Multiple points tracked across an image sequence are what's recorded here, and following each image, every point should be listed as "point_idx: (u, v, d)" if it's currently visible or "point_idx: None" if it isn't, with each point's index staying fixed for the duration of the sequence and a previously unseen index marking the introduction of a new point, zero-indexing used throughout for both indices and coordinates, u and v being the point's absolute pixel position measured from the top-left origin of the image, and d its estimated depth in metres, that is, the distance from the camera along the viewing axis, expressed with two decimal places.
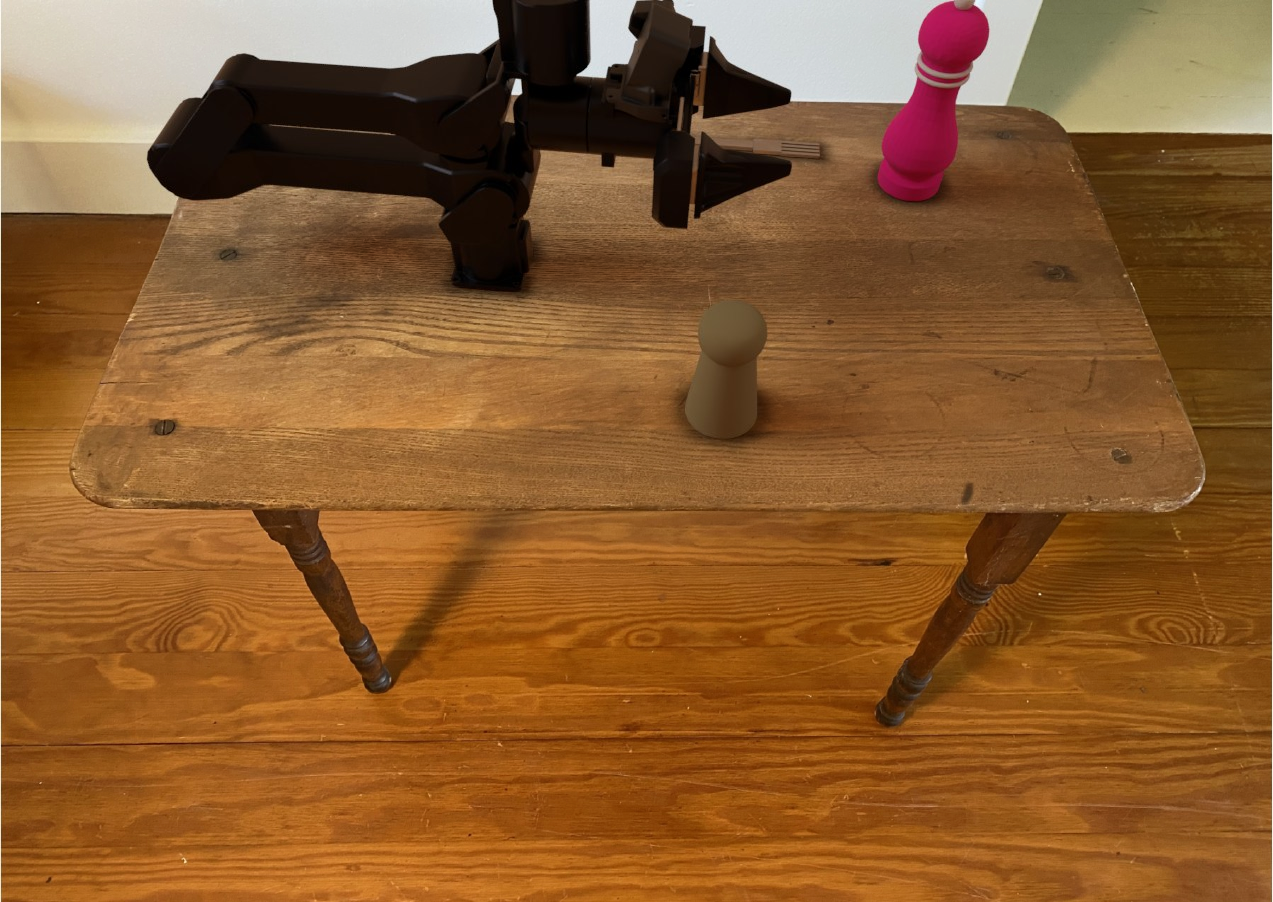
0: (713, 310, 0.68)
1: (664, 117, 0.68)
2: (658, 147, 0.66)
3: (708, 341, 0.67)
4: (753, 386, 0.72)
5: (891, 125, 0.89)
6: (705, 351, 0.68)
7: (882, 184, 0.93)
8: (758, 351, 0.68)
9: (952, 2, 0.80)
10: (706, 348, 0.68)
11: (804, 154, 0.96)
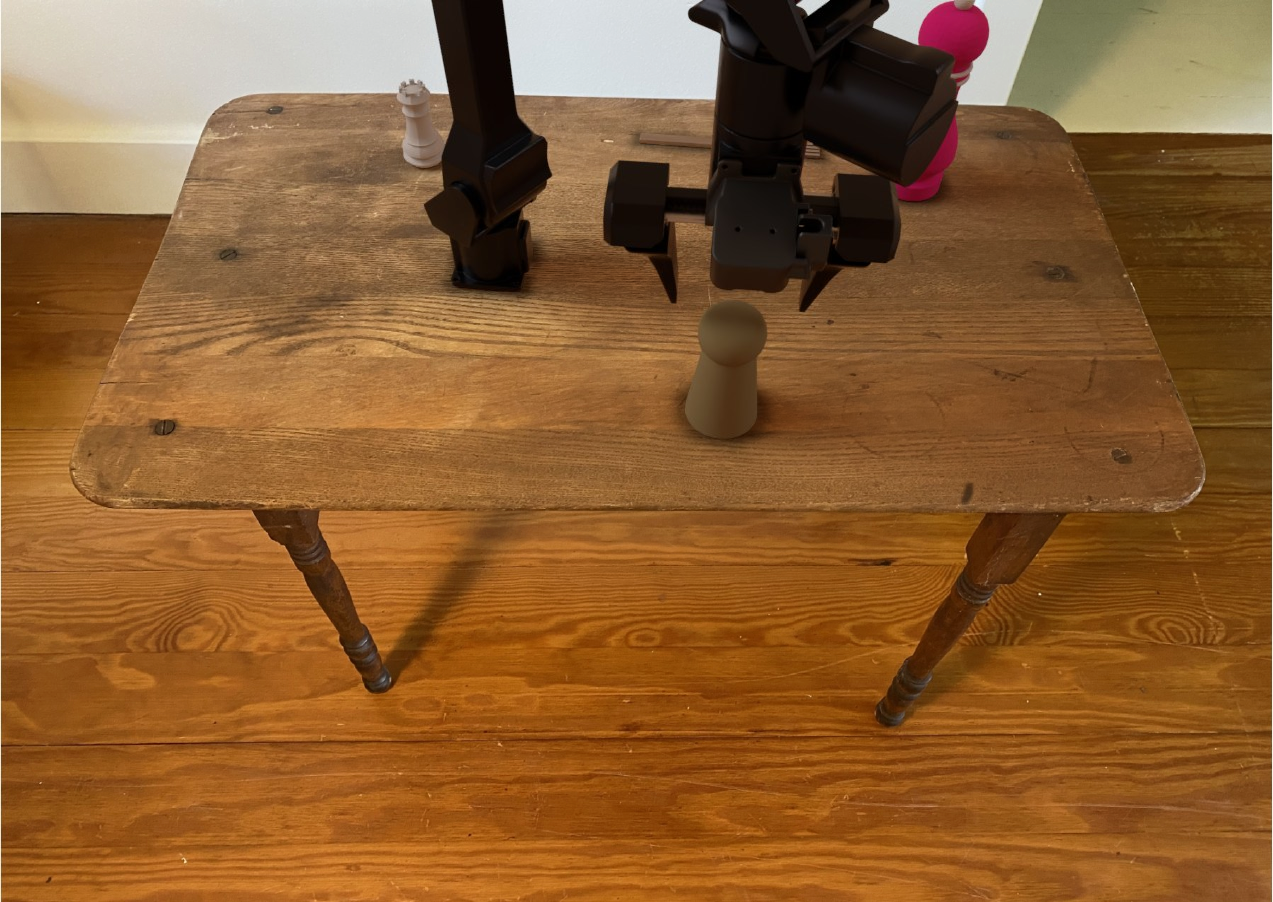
0: (713, 310, 0.68)
1: (706, 213, 0.57)
2: (647, 208, 0.57)
3: (708, 341, 0.67)
4: (753, 386, 0.72)
5: None
6: (705, 351, 0.68)
7: None
8: (758, 351, 0.68)
9: (952, 2, 0.80)
10: (706, 348, 0.68)
11: None
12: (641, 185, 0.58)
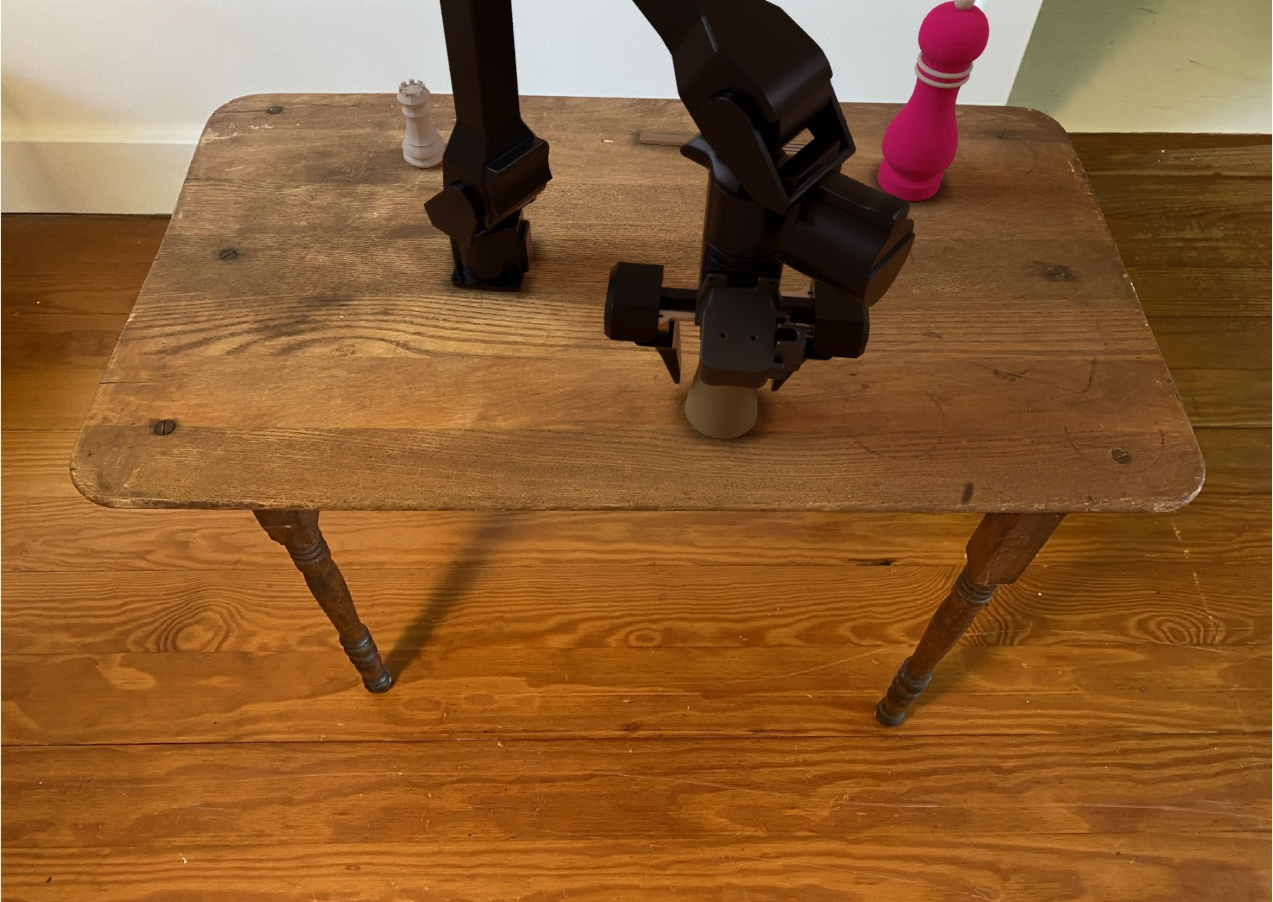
0: None
1: None
2: (643, 309, 0.64)
3: None
4: None
5: (891, 125, 0.89)
6: None
7: (882, 184, 0.93)
8: None
9: (952, 2, 0.80)
10: None
11: None
12: (638, 286, 0.65)
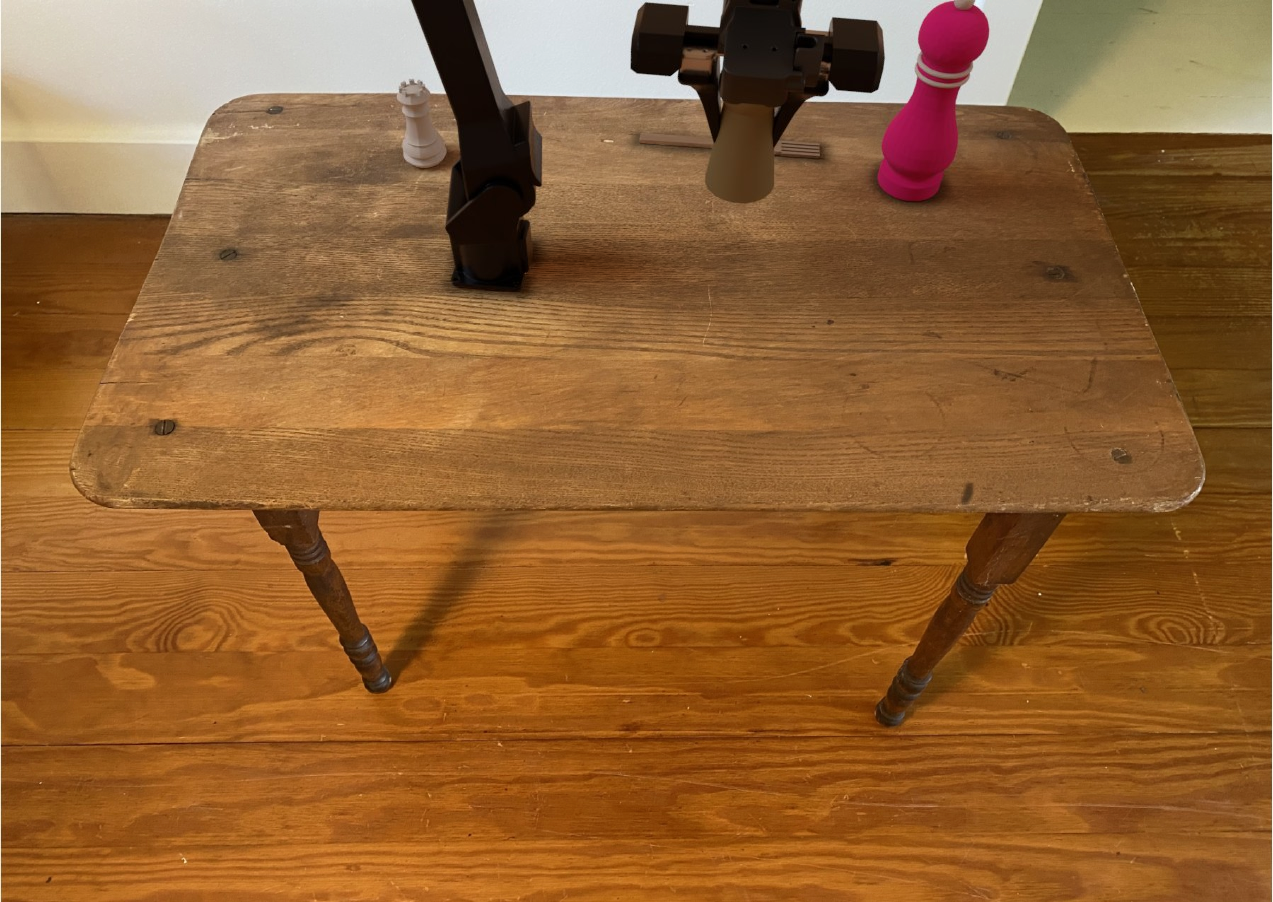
0: None
1: None
2: (669, 38, 0.67)
3: None
4: (770, 145, 0.75)
5: (891, 125, 0.89)
6: None
7: (882, 184, 0.93)
8: None
9: (952, 2, 0.80)
10: None
11: (804, 154, 0.96)
12: (664, 21, 0.68)
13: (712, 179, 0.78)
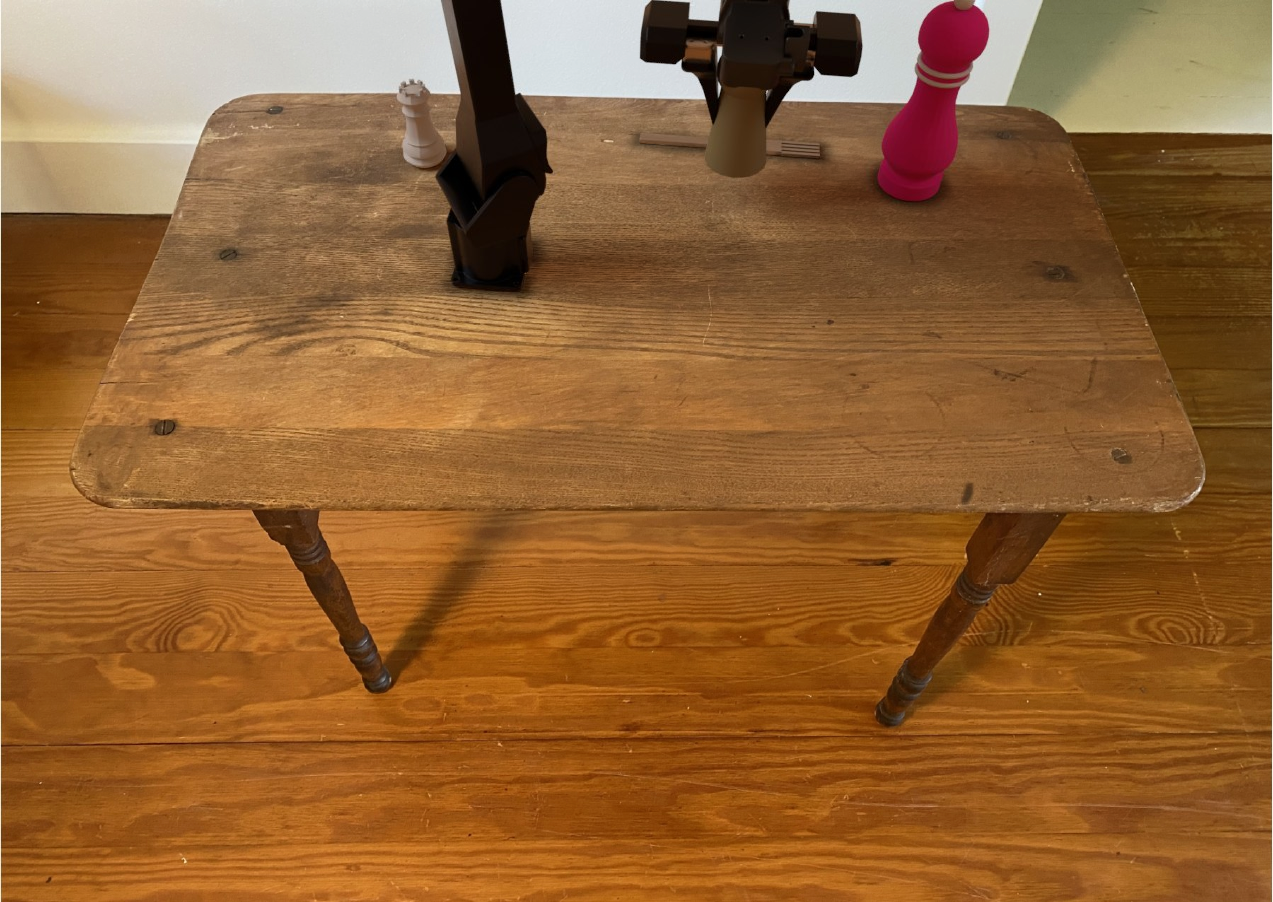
0: None
1: None
2: (674, 30, 0.77)
3: None
4: (763, 125, 0.85)
5: (891, 125, 0.89)
6: None
7: (882, 184, 0.93)
8: None
9: (952, 2, 0.80)
10: None
11: (804, 154, 0.96)
12: (669, 16, 0.78)
13: (711, 157, 0.87)
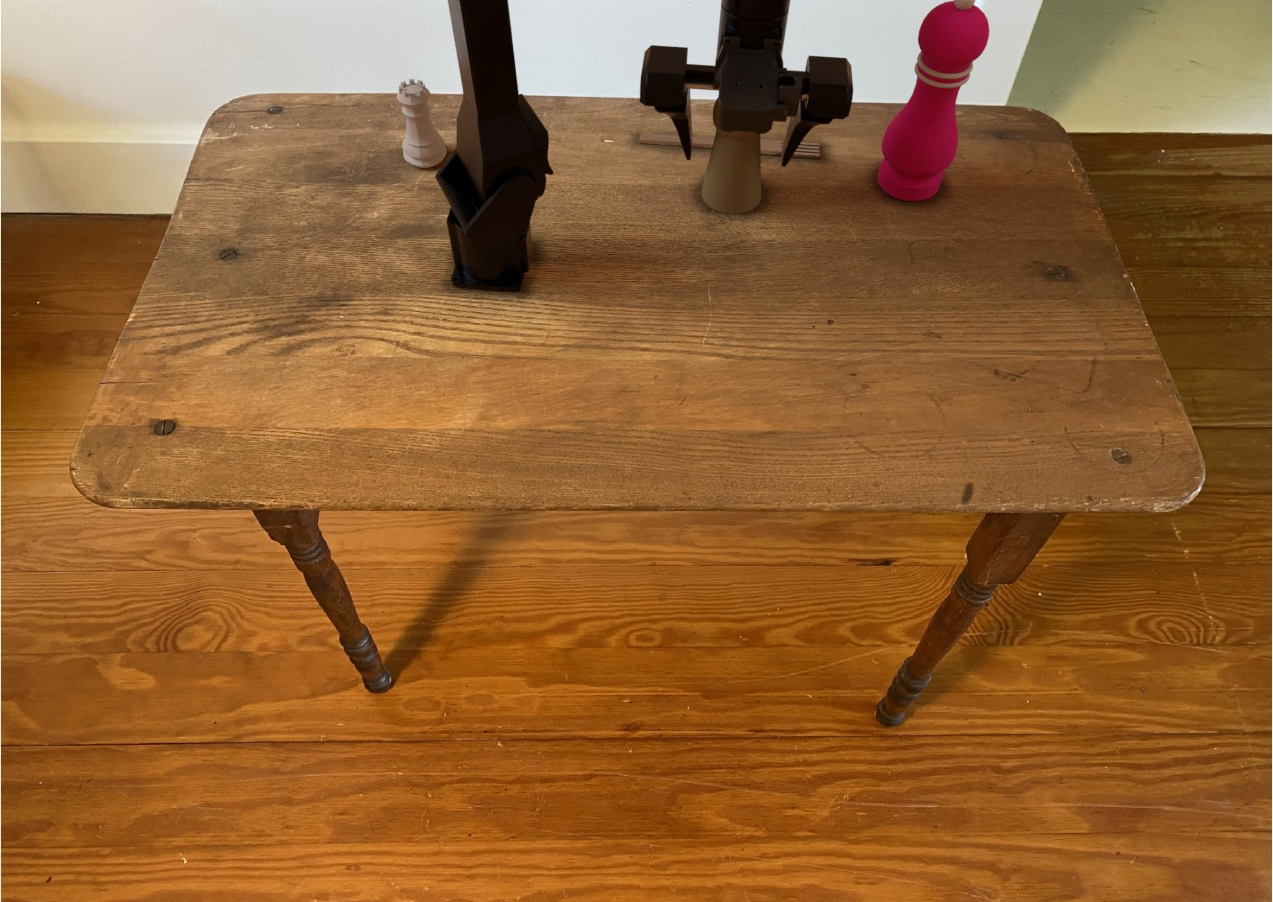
0: None
1: None
2: (672, 76, 0.80)
3: None
4: (757, 164, 0.88)
5: (891, 125, 0.89)
6: None
7: (882, 184, 0.93)
8: None
9: (952, 2, 0.80)
10: None
11: (804, 154, 0.96)
12: (667, 61, 0.81)
13: (708, 194, 0.91)
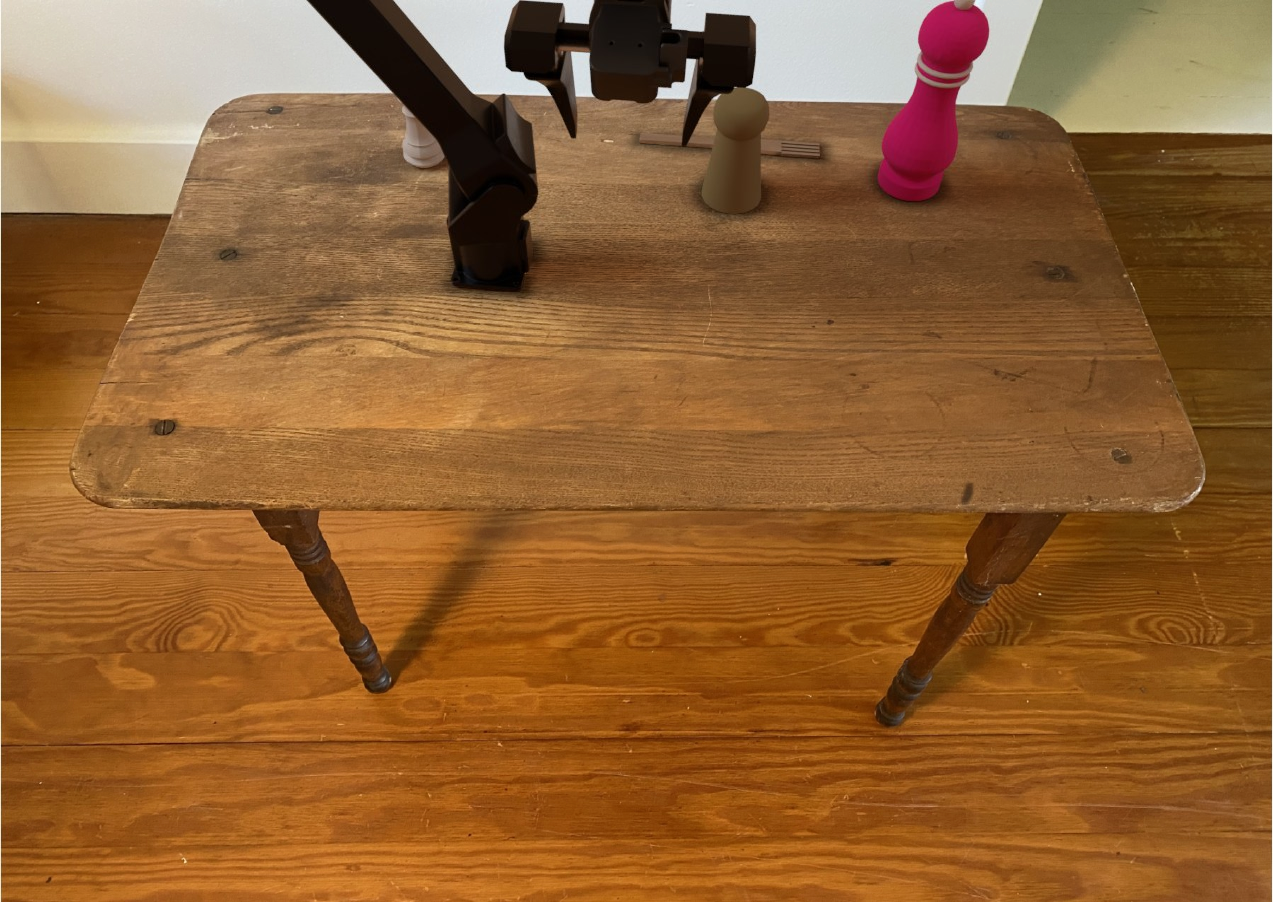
0: None
1: None
2: (541, 35, 0.67)
3: (722, 115, 0.84)
4: (758, 164, 0.88)
5: (891, 125, 0.89)
6: (719, 127, 0.85)
7: (882, 184, 0.93)
8: (762, 125, 0.84)
9: (952, 2, 0.80)
10: (720, 123, 0.84)
11: (804, 154, 0.96)
12: (537, 18, 0.68)
13: (708, 193, 0.91)
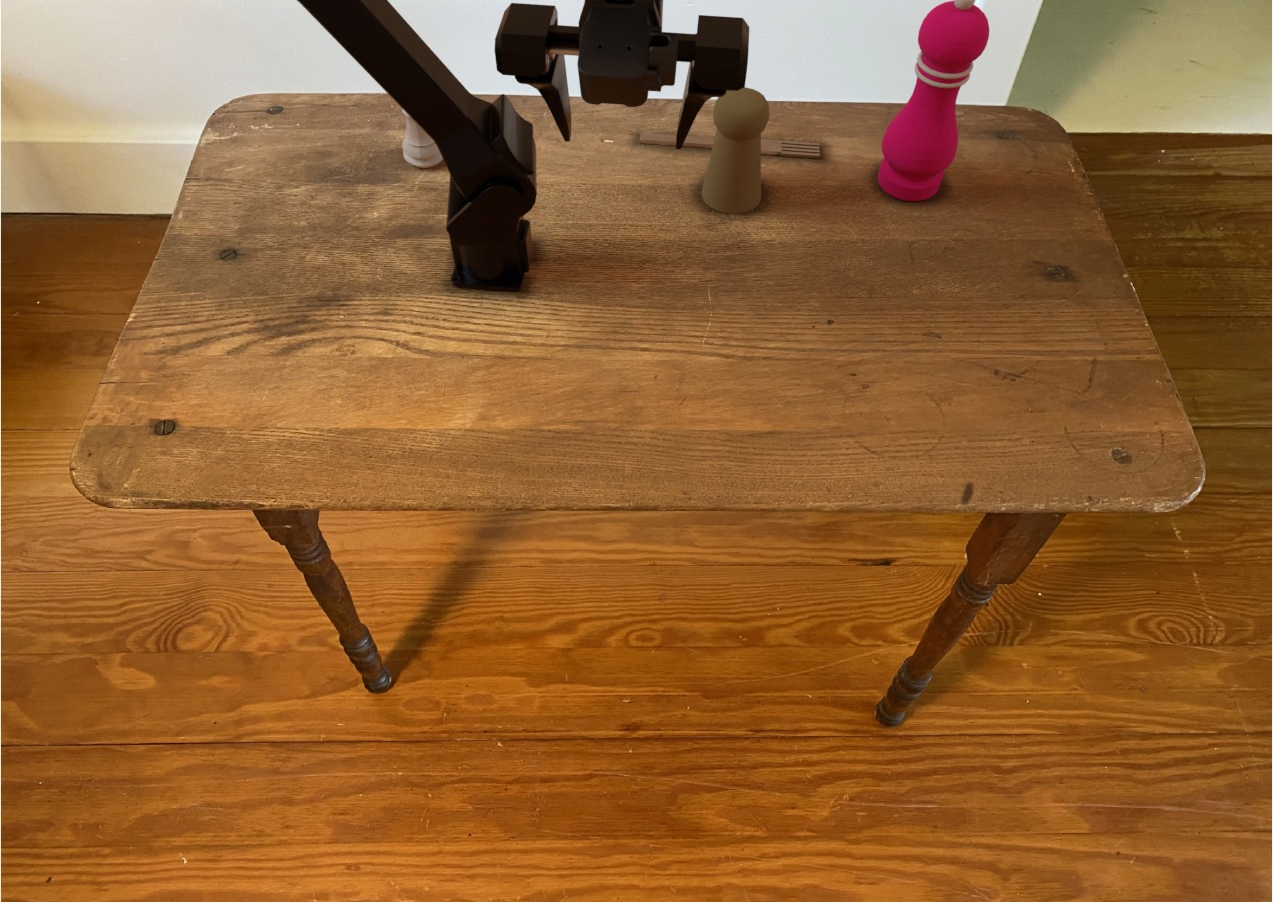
0: None
1: None
2: (531, 38, 0.67)
3: (722, 115, 0.84)
4: (758, 164, 0.88)
5: (891, 125, 0.89)
6: (719, 127, 0.85)
7: (882, 184, 0.93)
8: (762, 125, 0.84)
9: (952, 2, 0.80)
10: (720, 123, 0.84)
11: (804, 154, 0.96)
12: (528, 21, 0.68)
13: (708, 193, 0.91)
